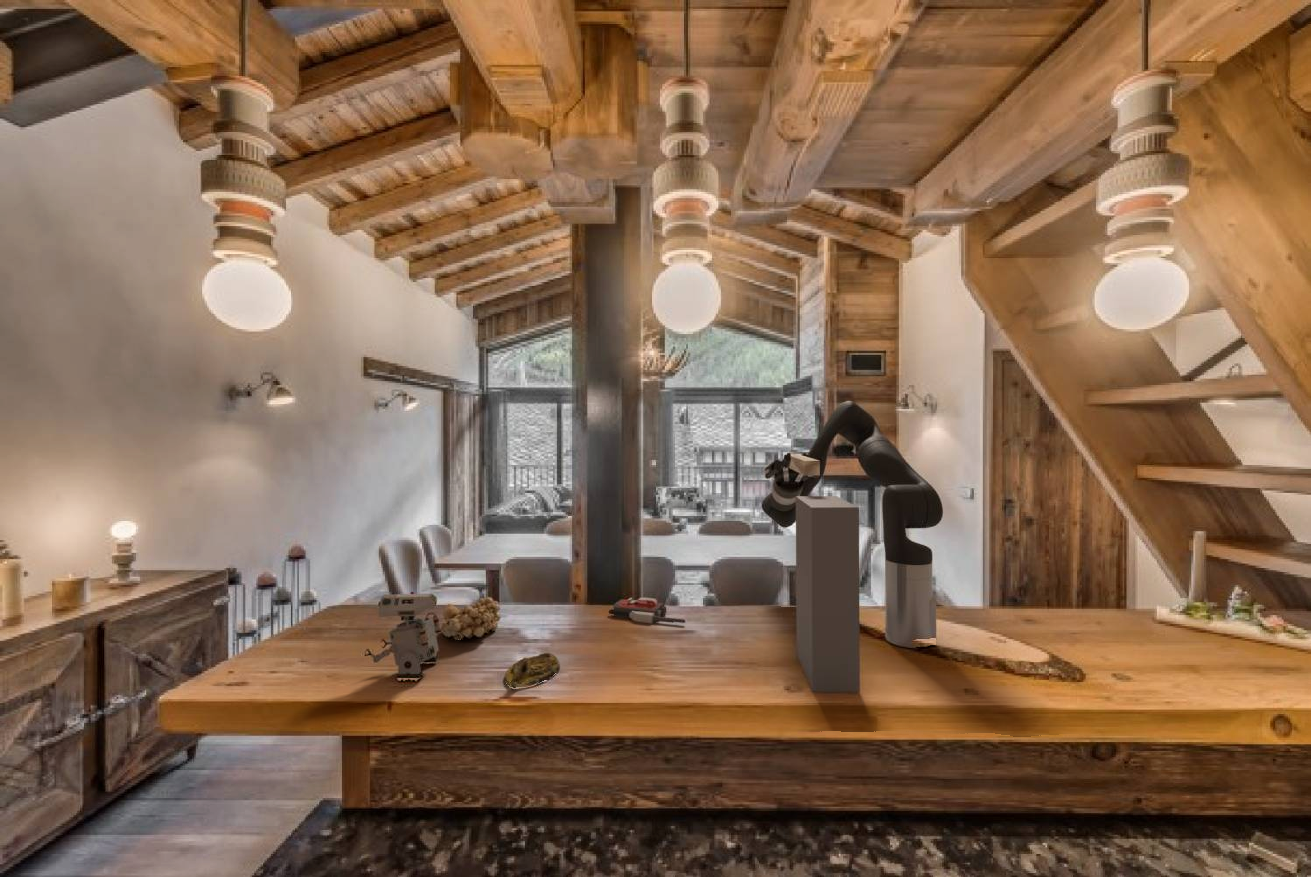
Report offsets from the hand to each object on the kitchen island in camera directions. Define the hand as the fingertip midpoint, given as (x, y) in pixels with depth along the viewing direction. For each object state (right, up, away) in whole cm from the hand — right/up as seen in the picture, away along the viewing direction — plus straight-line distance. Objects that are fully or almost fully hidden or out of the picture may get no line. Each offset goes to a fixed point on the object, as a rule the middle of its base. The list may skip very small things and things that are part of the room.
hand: (797, 456), depth 138 cm
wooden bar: (0, -3, -6) cm, 7 cm away
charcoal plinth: (-2, -39, -29) cm, 49 cm away
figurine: (-81, -41, -26) cm, 94 cm away
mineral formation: (-75, -40, -8) cm, 85 cm away
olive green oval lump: (-56, -41, -27) cm, 75 cm away
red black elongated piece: (-35, -40, +5) cm, 53 cm away
